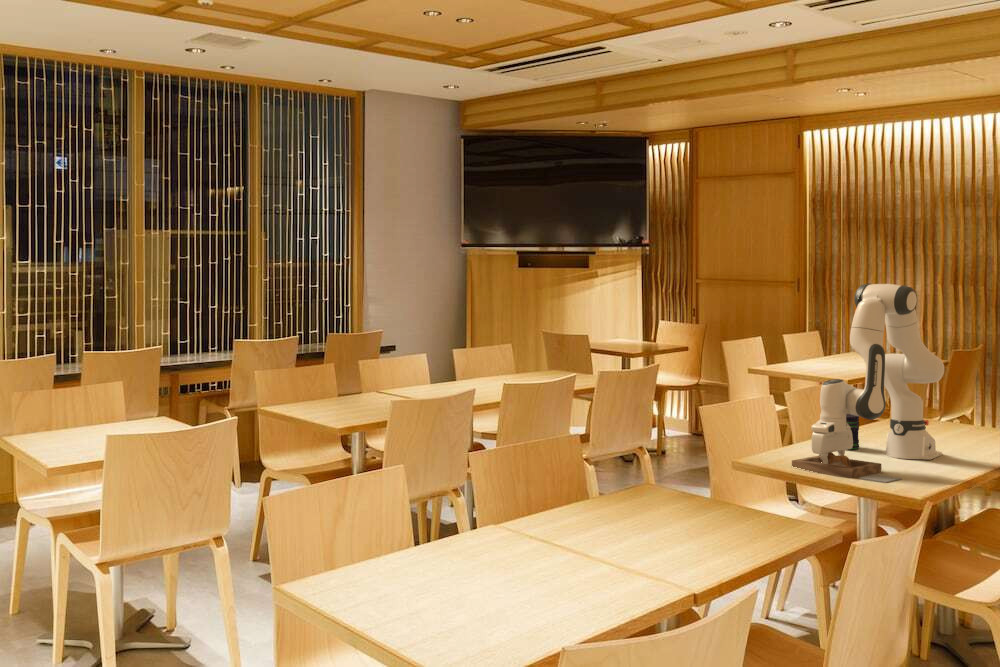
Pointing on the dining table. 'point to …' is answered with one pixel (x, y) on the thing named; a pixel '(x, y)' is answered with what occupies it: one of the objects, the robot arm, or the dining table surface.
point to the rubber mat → (880, 478)
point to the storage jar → (853, 429)
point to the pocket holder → (838, 467)
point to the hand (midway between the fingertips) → (832, 464)
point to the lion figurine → (837, 459)
